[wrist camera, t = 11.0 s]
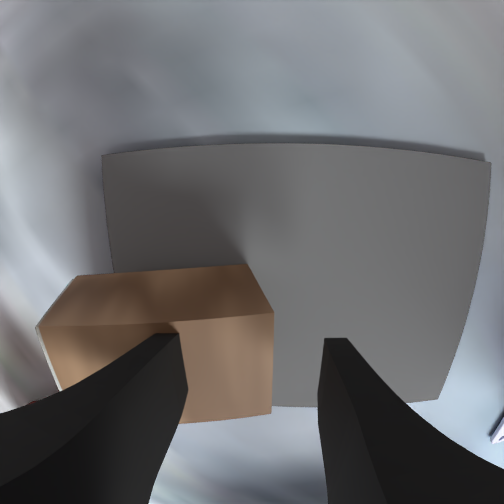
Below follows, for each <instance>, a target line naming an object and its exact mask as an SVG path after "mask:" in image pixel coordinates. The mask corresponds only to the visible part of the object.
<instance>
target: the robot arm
mask: <svg viewBox="0 0 504 504" xmlns="http://www.w3.org/2000/svg"><path fill="white" fill-rule="evenodd" d="M188 390H189V389H188V383H187V378H186V372H185V366H184V360H183V354H182V348H181V342H180V335H179V333H155V334H154V335H152V336H150V337H149V338H147V339H146V340H144V341H143V342H141V343H140V344H138V345H137V346H135V347H134V348H132V349H131V350H129V351H128V352H126V353H125V354H123V355H122V356H120V357H119V358H117V359H116V360H114V361H113V362H111V363H110V364H108V365H107V366H105V367H103V368H102V369H100V370H98V371H97V372H95V373H93V374H91V375H90V376H88V377H86V378H85V379H83V380H81V381H80V382H78V383H76V384H74V385H72V386H70V387H68V388H66V389H64V390H62V391H60V392H58V393H56V394H54V395H51V396H49V397H47V398H45V399H42V400H40V401H37V402H34V403H31V404H28V405H26V406H23V407H20V408H17V409H14V410H11V411H8V412H4V413H0V504H148V503H149V499H150V496H151V492H152V488H153V485H154V482H155V480H156V477H157V474H158V472H159V469H160V467H161V465H162V462H163V460H164V457H165V455H166V453H167V450H168V448H169V446H170V443H171V441H172V438H173V436H174V434H175V431H176V429H177V426H178V424H179V422H180V419H181V416H182V413H183V410H184V406H185V402H186V398H187V394H188ZM317 401H318V426H319V433H320V440H321V447H322V454H323V461H324V468H325V476H326V483H327V493H328V504H504V469H502V468H500V467H498V466H496V465H494V464H492V463H490V462H488V461H486V460H484V459H482V458H480V457H478V456H477V455H475V454H473V453H472V452H470V451H468V450H467V449H465V448H464V447H462V446H460V445H459V444H457V443H456V442H454V441H452V440H451V439H450V438H448V437H447V436H445V435H444V434H442V433H441V432H440V431H438V430H437V429H436V428H435V427H433V426H432V425H431V424H429V423H428V422H427V421H426V420H424V419H423V418H422V417H421V416H419V415H418V414H417V413H416V412H415V411H414V410H413V409H411V408H410V407H409V406H408V405H407V404H406V403H405V402H404V401H403V400H402V399H401V398H400V397H399V396H398V395H397V394H396V393H395V392H394V391H393V390H392V389H391V388H390V387H389V386H388V385H387V384H386V383H385V382H384V381H383V379H382V378H381V377H380V376H379V375H378V374H377V373H376V372H375V371H374V369H373V368H372V367H371V366H370V365H369V364H368V362H367V361H366V360H365V359H364V358H363V357H362V355H361V354H360V353H359V352H358V350H357V349H356V348H355V347H354V346H353V344H352V343H351V342H350V341H349V340H348V339H347V338H324V345H323V354H322V362H321V370H320V377H319V385H318V392H317ZM490 441H491V443H492V444H495V443H498V442H501V441H504V417H503V419H502V421H501V422H500V424H499V426H498V427H497V429H496V430H495V432H494V433H493V435H492V437H491V438H490Z"/></svg>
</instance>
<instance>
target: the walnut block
mask: <svg viewBox="0 0 504 504" xmlns="http://www.w3.org/2000/svg"><path fill="white" fill-rule="evenodd" d="M35 329H36V332H37V335H38V338H39V341H40V344H41V346H42V349H43V352H44V355H45V357H46V360H47V362H48V365H49V367H50V370H51V372H52V375H53V377H54V380H55V382H56V384H57V387H58V389H59V391H62V390H64V389H66V388H68V387H70V386H72V385H74V384H76V383H78V382H80V381H81V380H83V379H85V378H86V377H88V376H90V375H91V374H93V373H95V372H97V371H98V370H100V369H102V368H103V367H105V366H107V365H108V364H110V363H111V362H113V361H114V360H116V359H117V358H119V357H120V356H122V355H123V354H125V353H126V352H128V351H129V350H131V349H132V348H134V347H135V346H137V345H138V344H140V343H141V342H143V341H144V340H146V339H147V338H149V337H150V336H152V335H154V334H155V333H179V335H180V342H181V348H182V354H183V360H184V366H185V372H186V378H187V383H188V389H189V390H188V394H187V398H186V402H185V406H184V410H183V413H182V416H181V419H180V422H179V424H182V423H197V422H208V421H219V420H228V419H236V418H244V417H251V416H258V415H265V414H271V408H272V380H273V347H274V311H273V309H272V307H271V306H270V304H269V302H268V300H267V298H266V296H265V295H264V293H263V291H262V289H261V287H260V286H259V284H258V282H257V280H256V278H255V276H254V275H253V273H252V271H251V269H250V267H249V265H248V264H239V265H226V266H212V267H199V268H185V269H171V270H156V271H142V272H127V273H111V274H96V275H80V276H76V277H75V279H72V280H71V281H70V283H69V284H68V285H67V286H66V288H65V289H64V290H63V291H62V293H61V294H60V295H59V296H58V298H57V299H56V300H55V302H54V303H53V304H52V305H51V307H50V308H49V309H48V311H47V312H46V313H45V315H44V316H43V317H42V319H41V320H40V321H39V323H38V324H37V325H36V327H35Z"/></svg>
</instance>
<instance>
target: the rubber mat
mask: <svg viewBox="0 0 504 504" xmlns="http://www.w3.org/2000/svg"><path fill="white" fill-rule="evenodd" d="M102 172H103V187H104V198H105V209H106V218H107V227H108V235H109V243H110V250H111V257H112V263H113V270H114V273H127V272H142V271H156V270H171V269H185V268H199V267H212V266H226V265H239V264H248V265H249V267H250V269H251V271H252V273H253V275H254V276H255V278H256V280H257V282H258V284H259V286H260V287H261V289H262V291H263V293H264V295H265V296H266V298H267V300H268V302H269V304H270V306H271V307H272V309H273V311H274V347H273V380H272V406H283V407H318V401H317V392H318V385H319V377H320V370H321V362H322V354H323V345H324V338H347V339H348V340H349V341H350V342H351V343H352V344H353V346H354V347H355V348H356V349H357V350H358V352H359V353H360V354H361V355H362V357H363V358H364V359H365V360H366V361H367V362H368V364H369V365H370V366H371V367H372V368H373V369H374V371H375V372H376V373H377V374H378V375H379V376H380V377H381V378H382V379H383V381H384V382H385V383H386V384H387V385H388V386H389V387H390V388H391V389H392V390H393V391H394V392H395V393H396V394H397V395H398V396H399V397H400V398H401V399H402V400H403V401H404V402H405V403H411V402H420V401H428V400H436V399H438V397H439V395H440V393H441V390H442V388H443V385H444V383H445V380H446V378H447V375H448V373H449V370H450V367H451V365H452V362H453V359H454V356H455V353H456V351H457V348H458V345H459V342H460V338H461V335H462V332H463V329H464V325H465V322H466V319H467V315H468V311H469V308H470V304H471V300H472V296H473V292H474V288H475V283H476V279H477V274H478V270H479V265H480V259H481V254H482V248H483V242H484V236H485V229H486V221H487V213H488V204H489V193H490V179H491V163H490V162H485V161H480V160H474V159H468V158H462V157H456V156H449V155H442V154H435V153H427V152H419V151H411V150H401V149H391V148H380V147H367V146H353V145H334V144H305V143H247V144H218V145H199V146H184V147H171V148H159V149H149V150H140V151H131V152H122V153H115V154H107V155H102Z"/></svg>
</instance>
